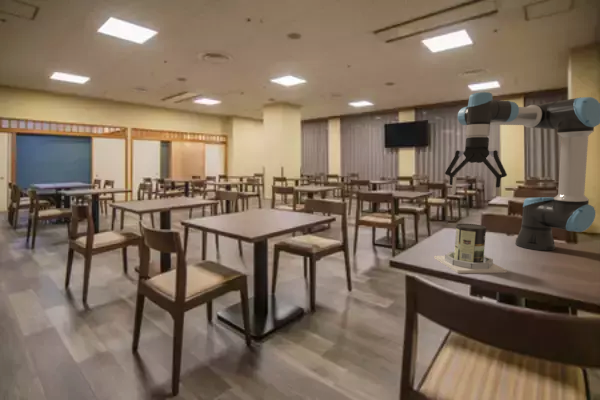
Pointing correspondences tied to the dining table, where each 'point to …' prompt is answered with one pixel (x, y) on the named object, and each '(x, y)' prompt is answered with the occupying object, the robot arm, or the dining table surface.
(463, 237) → the coffee can
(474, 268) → the can holder
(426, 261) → the dining table surface
